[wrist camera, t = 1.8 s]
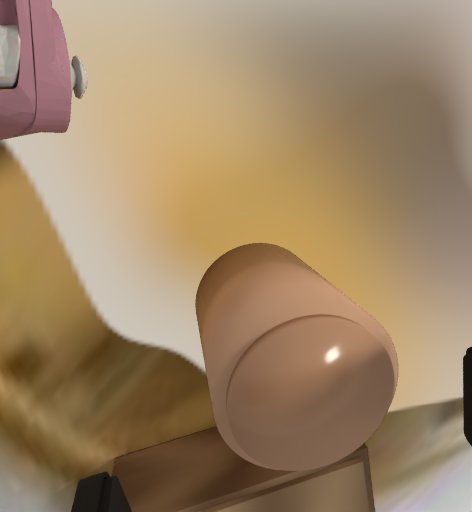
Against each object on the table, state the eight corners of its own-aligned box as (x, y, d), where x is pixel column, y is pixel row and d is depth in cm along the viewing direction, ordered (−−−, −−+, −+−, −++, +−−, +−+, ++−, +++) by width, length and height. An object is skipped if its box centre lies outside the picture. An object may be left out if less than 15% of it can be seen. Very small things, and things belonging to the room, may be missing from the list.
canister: (304, 229, 17) (400, 282, 10) (320, 337, 19) (411, 446, 12) (181, 261, 16) (191, 341, 9) (211, 369, 18) (237, 505, 11)
